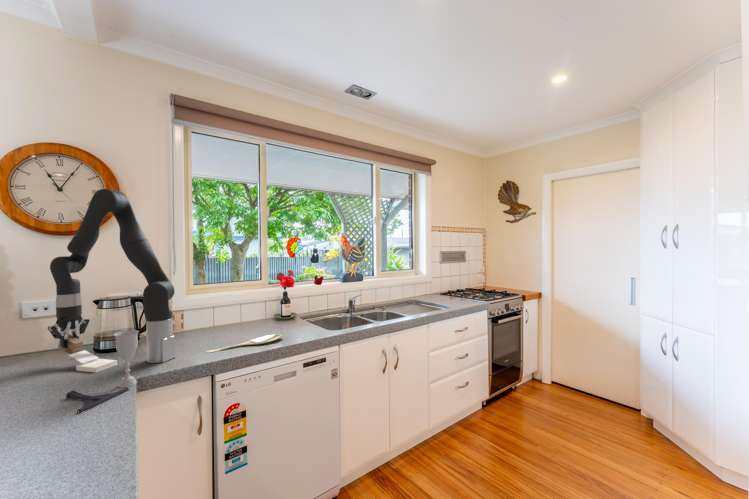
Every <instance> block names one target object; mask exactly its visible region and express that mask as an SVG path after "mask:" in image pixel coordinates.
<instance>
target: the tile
mask: <svg viewBox="0 0 749 499" xmlns="http://www.w3.org/2000/svg"><path fill="white" fill-rule="evenodd" d="M117 365H118V360H117V359H105V358H99V359H98V360H95V361H92V362H88V363H85V364H80V363H79V364H78V365H75V370H76V371H78V372H88V373H89V372H90V373H98V372H101V371H105V370H106V369H109V368H112V367H114V366H117Z"/></svg>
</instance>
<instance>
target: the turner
mask: <svg viewBox="0 0 749 499" xmlns="http://www.w3.org/2000/svg"><path fill="white" fill-rule="evenodd" d="M67 339H68V348H62V347H61V341H60V340H59V341H58V345H57V348H58V349H59V350H62V351H64V352H65V353H68V355H67V358H69V359H71V360H73V361H75V362H76V363H79V365H80V364H85V363H88V362H92V361H95V360H98V359H100V358H99V357H100V356H99V357H98V356H97V355H95V354H93V353H91V352H90V351H87V350H84V349H83V350H82V348H83V344H84V341H83V340H81V339H80V338H79V339H78V338H75V337H74V336H72V334H70V333H68V338H67Z"/></svg>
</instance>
